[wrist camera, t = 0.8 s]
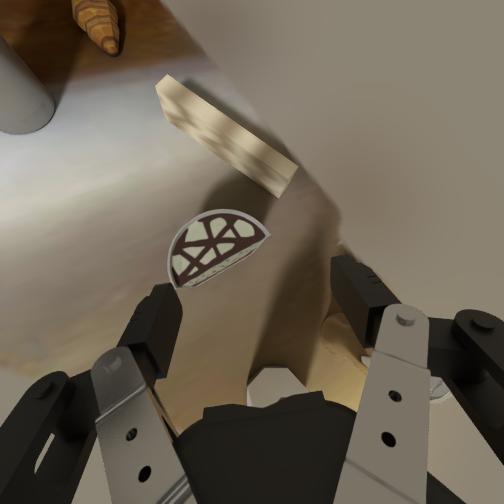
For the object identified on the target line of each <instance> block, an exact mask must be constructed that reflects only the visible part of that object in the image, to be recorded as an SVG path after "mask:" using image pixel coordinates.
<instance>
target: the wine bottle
mask: <svg viewBox="0 0 504 504" xmlns="http://www.w3.org/2000/svg"><path fill="white" fill-rule="evenodd" d="M302 393H309V391H308V390H307V389H306V388H305V387H304V386H303V384H302V383H301V382H300V381H299V380H298V379H297V378H296V377H295V376H294V375H293V374H292V372H291V371H290V370H289V369H288V368H287V367H286V366H262V367H261V368H260V369H259V370H258V371H257V372H256V373H255V375H254V376H253V377H252V378H251V379H250V380H249V381H248V382H247V396H246V406H252V407H259V408H264V407H267V406H269V405H271V404H273V403H276V402H278V401H280V400H282V399H285V398H287V397H289V396H291V395H295V394H302Z"/></svg>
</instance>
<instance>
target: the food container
mask: <svg viewBox="0 0 504 504" xmlns="http://www.w3.org/2000/svg"><path fill="white" fill-rule="evenodd" d="M268 236H269V237H270V236H271V234H270V233H269V232H268V230H267V229H266V228H265V227H264V226H263V225H262V224H261V223H260V222H259V221H258V220H256V219H255V218H254V217H252V216H250V215H248V214H246V213H243V212H240V211H237V210H232V209H215V210H210V211H206V212H204V213H201V214H199V215H197V216H195V217H194V218H192V219H190V220H189V221H188V222H187V223H186V224H184V225H183V226H182V228H181V229H180V230H179V231H178V232H177V234H176V236H175V237H174V239H173V241H172V244H171V246H170V249H169V254H168V262H167V266H168V275H169V279H170V283H172V284H173V286H174V288H175V291H176V289H182V288H195V287H197V286H199V285H201V284H202V283H204V282H206V281H208V280H209V279H211V278H213V277H214V276H216V275H218V274H220V273H221V272H223V271H225V270H226V269H228V268H230V267H232V266H233V265H235V264H237V263H238V262H240V261H242V260H244V259H245V258H247V257H249V256H250V255H252V254H253V253H254V252H255V250H256V249H257V248H258V247H259V246H260V245H261V244H262V243H263V242H264V240H265V239H266V238H267V237H268Z"/></svg>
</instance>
